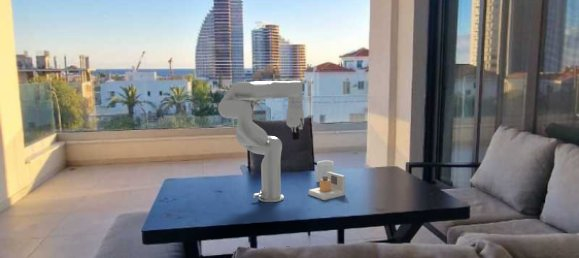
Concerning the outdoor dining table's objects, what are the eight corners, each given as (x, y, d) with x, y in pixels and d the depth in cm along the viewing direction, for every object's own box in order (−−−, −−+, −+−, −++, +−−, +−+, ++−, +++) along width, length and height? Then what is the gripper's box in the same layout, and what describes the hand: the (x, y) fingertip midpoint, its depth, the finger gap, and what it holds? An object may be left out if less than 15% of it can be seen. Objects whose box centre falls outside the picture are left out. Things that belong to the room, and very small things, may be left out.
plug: (324, 196, 223) (324, 177, 221) (319, 195, 226) (319, 176, 225) (330, 195, 225) (330, 176, 224) (325, 193, 228) (325, 174, 227)
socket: (323, 200, 217) (323, 180, 216) (308, 194, 227) (308, 175, 226) (344, 195, 225) (345, 175, 224) (329, 189, 235) (329, 171, 234)
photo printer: (333, 180, 254) (333, 159, 253) (335, 182, 250) (335, 160, 248) (315, 181, 253) (315, 160, 251) (317, 183, 249) (317, 161, 247)
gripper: (281, 104, 234) (281, 138, 237) (298, 106, 222) (298, 142, 225) (292, 103, 239) (293, 136, 241) (309, 105, 227) (310, 140, 229)
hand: (295, 139), depth 233 cm, fingers closed
